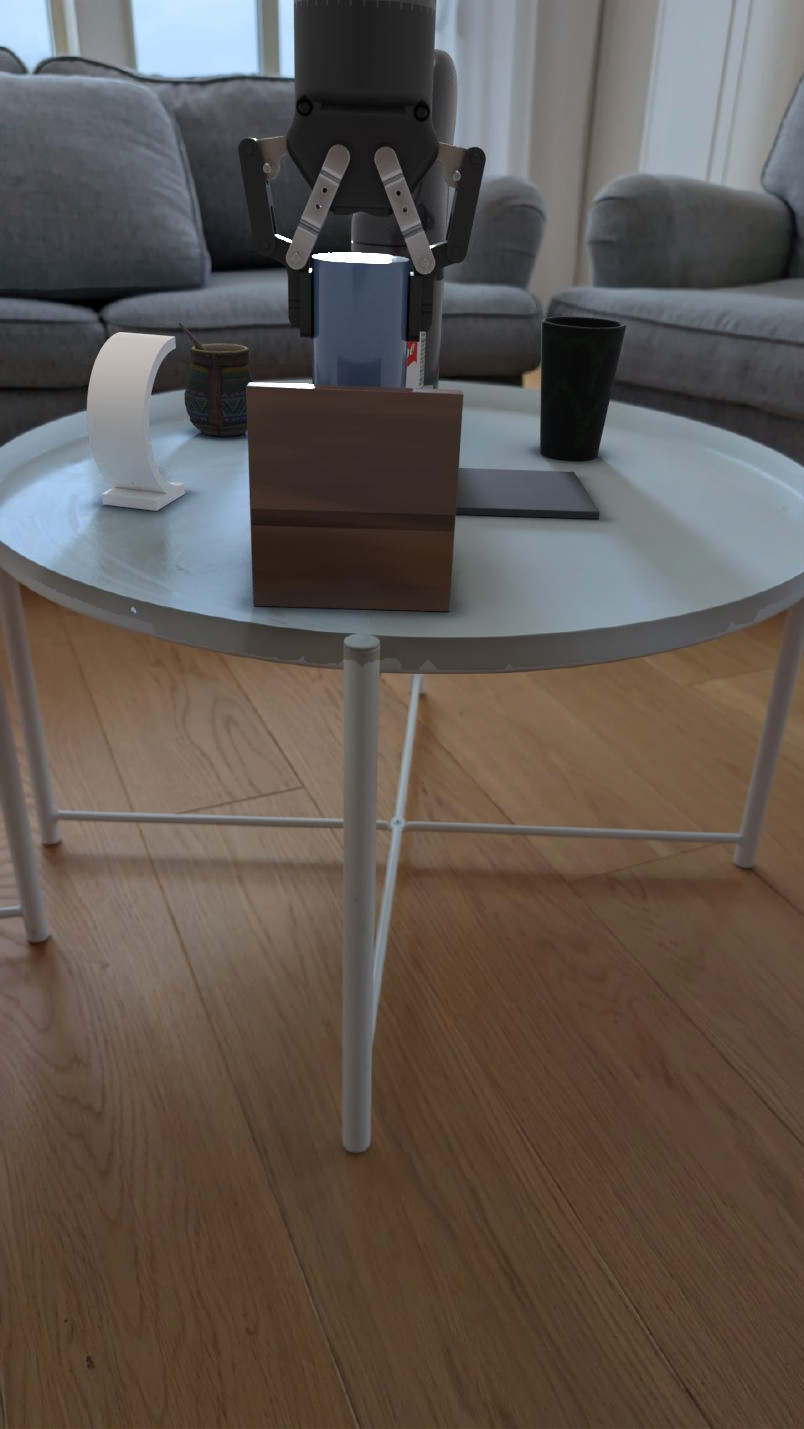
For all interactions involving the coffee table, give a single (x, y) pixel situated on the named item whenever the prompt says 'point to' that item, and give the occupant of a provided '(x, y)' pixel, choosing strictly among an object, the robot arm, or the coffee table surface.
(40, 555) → the coffee table surface
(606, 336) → the cup
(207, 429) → the mate gourd
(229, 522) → the coffee table surface
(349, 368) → the slate blue cylinder
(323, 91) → the robot arm
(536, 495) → the coaster
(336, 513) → the walnut wood block
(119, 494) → the headphone stand
